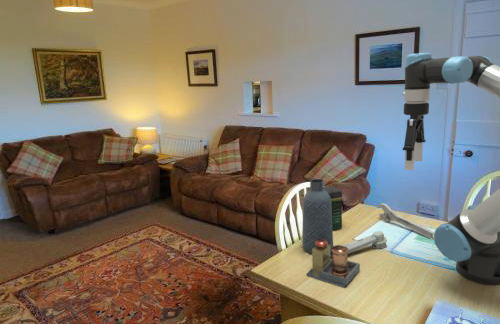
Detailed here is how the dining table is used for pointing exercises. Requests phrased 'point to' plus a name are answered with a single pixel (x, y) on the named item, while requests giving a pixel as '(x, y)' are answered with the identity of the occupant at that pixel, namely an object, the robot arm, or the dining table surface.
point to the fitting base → (329, 265)
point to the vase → (316, 216)
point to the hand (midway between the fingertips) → (413, 165)
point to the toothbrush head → (367, 242)
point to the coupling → (339, 260)
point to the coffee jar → (335, 206)
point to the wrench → (403, 221)
